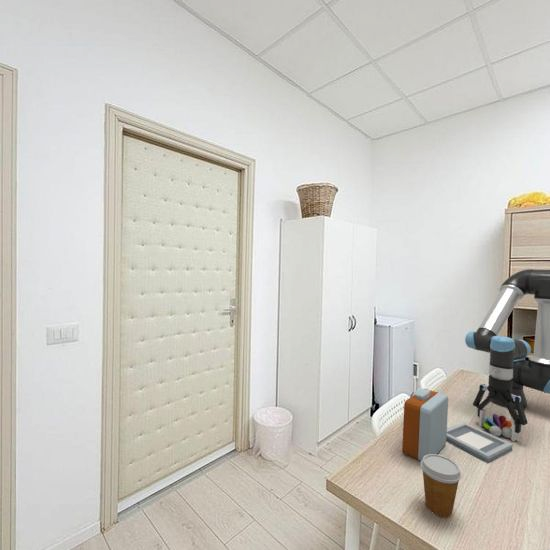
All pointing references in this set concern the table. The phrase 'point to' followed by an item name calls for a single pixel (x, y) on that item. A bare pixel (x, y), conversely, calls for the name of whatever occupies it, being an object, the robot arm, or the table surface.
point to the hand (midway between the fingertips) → (497, 432)
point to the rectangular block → (424, 423)
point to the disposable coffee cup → (440, 483)
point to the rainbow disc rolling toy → (498, 426)
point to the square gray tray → (477, 442)
